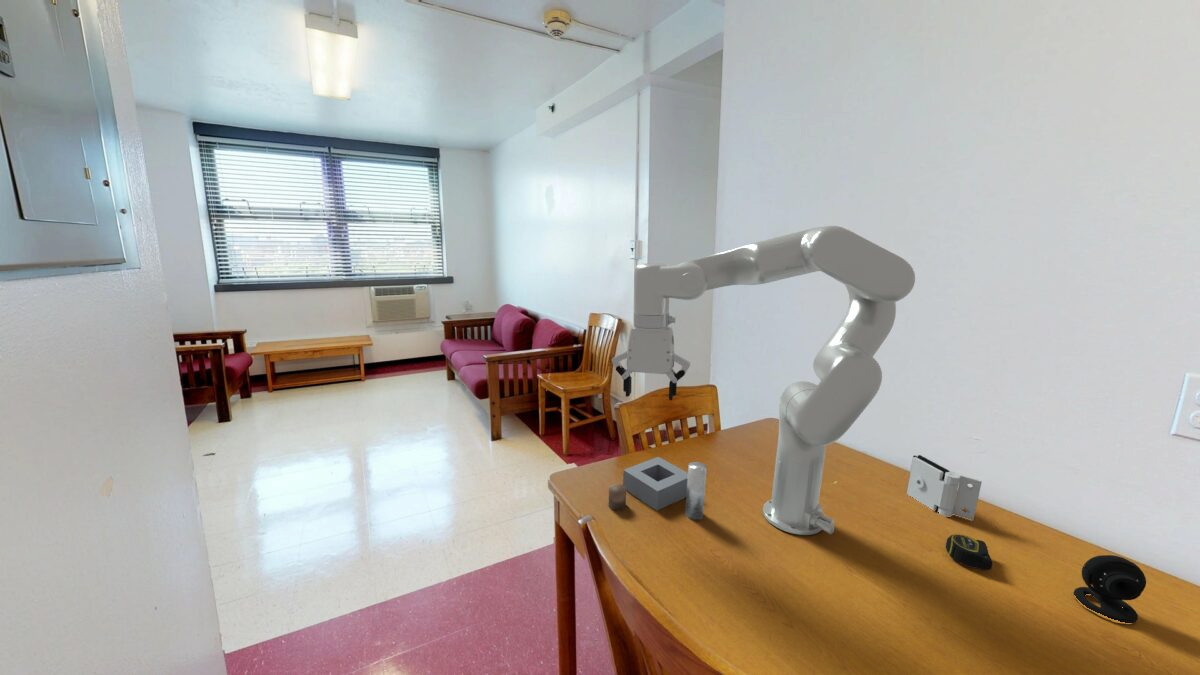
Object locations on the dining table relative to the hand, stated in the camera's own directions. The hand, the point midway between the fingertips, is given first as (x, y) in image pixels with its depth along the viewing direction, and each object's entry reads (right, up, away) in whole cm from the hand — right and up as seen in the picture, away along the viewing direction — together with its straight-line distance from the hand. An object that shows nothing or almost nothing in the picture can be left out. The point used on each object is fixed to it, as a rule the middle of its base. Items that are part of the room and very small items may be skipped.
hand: (649, 396), depth 101 cm
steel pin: (+10, -27, +1) cm, 29 cm away
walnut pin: (-7, -26, +4) cm, 27 cm away
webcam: (+76, -34, -23) cm, 86 cm away
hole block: (+3, -25, +11) cm, 27 cm away
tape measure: (+62, -31, -12) cm, 71 cm away
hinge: (+69, -27, +6) cm, 75 cm away
